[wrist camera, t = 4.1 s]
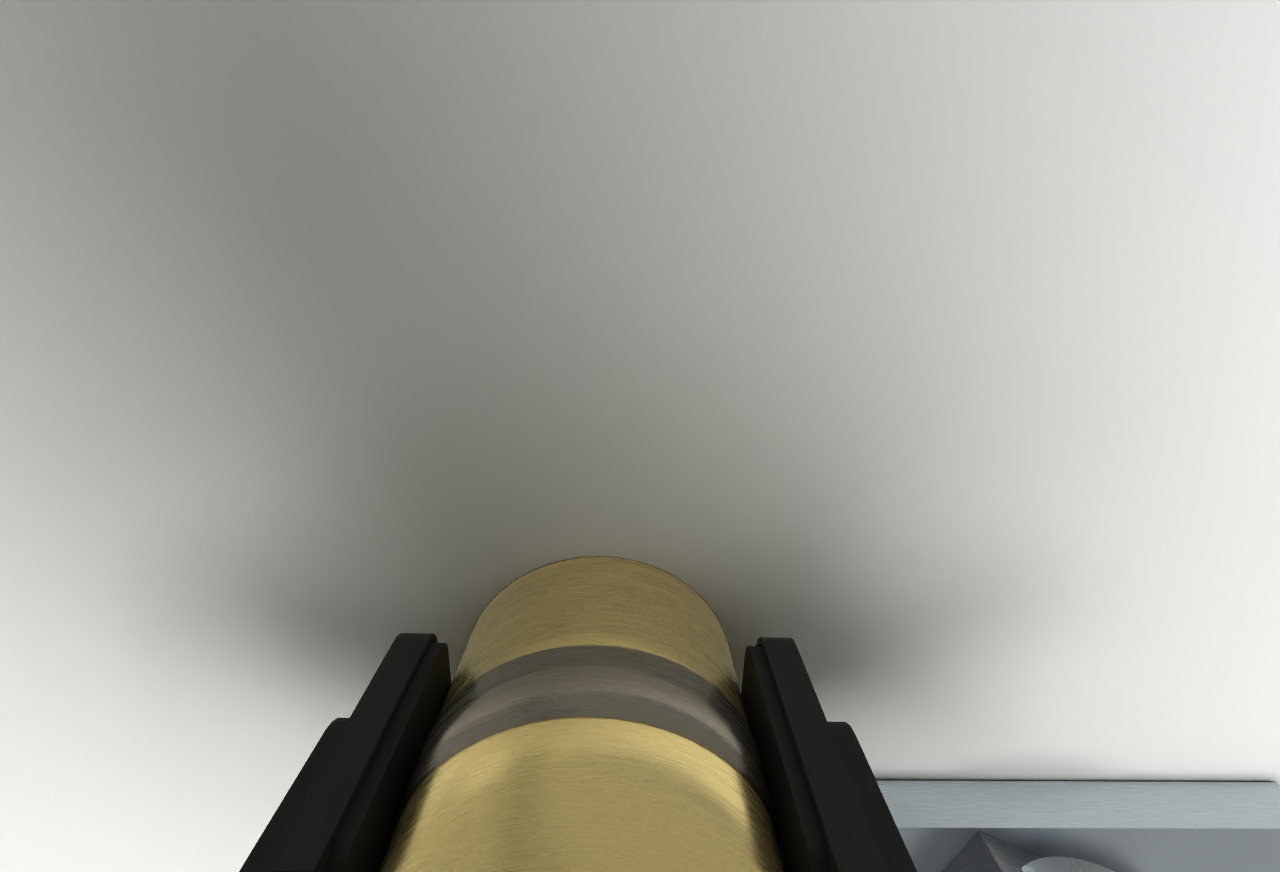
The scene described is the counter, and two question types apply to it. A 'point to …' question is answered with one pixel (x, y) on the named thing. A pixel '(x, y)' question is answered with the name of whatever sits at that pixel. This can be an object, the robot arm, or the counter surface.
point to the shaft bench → (1087, 825)
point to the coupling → (590, 737)
